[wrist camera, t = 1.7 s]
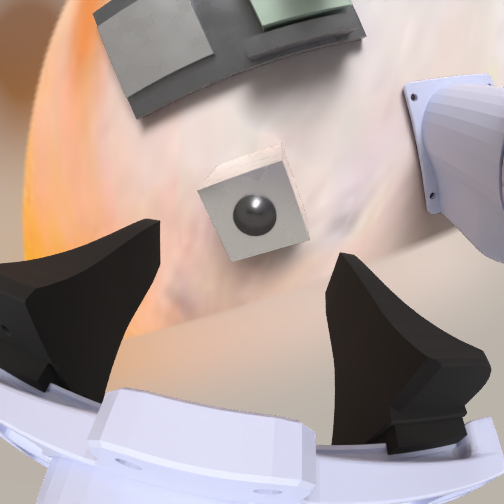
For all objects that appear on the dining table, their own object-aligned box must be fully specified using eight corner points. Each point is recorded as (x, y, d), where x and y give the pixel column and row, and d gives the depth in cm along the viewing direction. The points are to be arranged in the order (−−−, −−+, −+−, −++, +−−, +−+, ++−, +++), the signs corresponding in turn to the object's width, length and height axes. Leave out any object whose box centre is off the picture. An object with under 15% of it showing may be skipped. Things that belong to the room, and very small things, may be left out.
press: (362, 38, 14) (378, 29, 11) (143, 117, 17) (119, 124, 14) (304, -69, 9) (308, -92, 7) (100, 15, 13) (73, 9, 10)
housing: (303, 204, 20) (310, 241, 15) (241, 223, 21) (231, 264, 17) (281, 142, 18) (282, 161, 13) (216, 165, 19) (196, 191, 14)
